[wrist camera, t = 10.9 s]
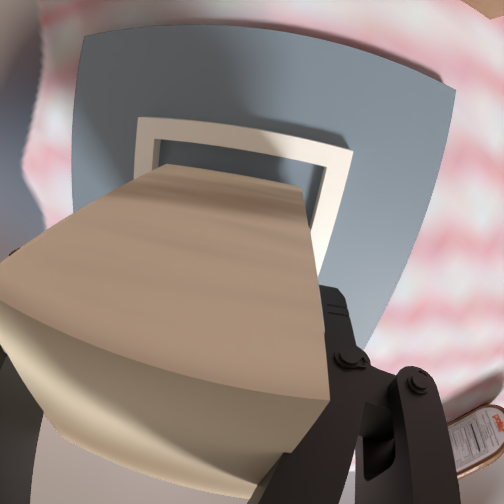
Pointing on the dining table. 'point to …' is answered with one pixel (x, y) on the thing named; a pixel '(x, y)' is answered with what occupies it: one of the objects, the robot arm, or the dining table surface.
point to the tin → (477, 439)
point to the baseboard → (277, 120)
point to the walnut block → (487, 7)
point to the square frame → (261, 142)
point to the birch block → (174, 326)
